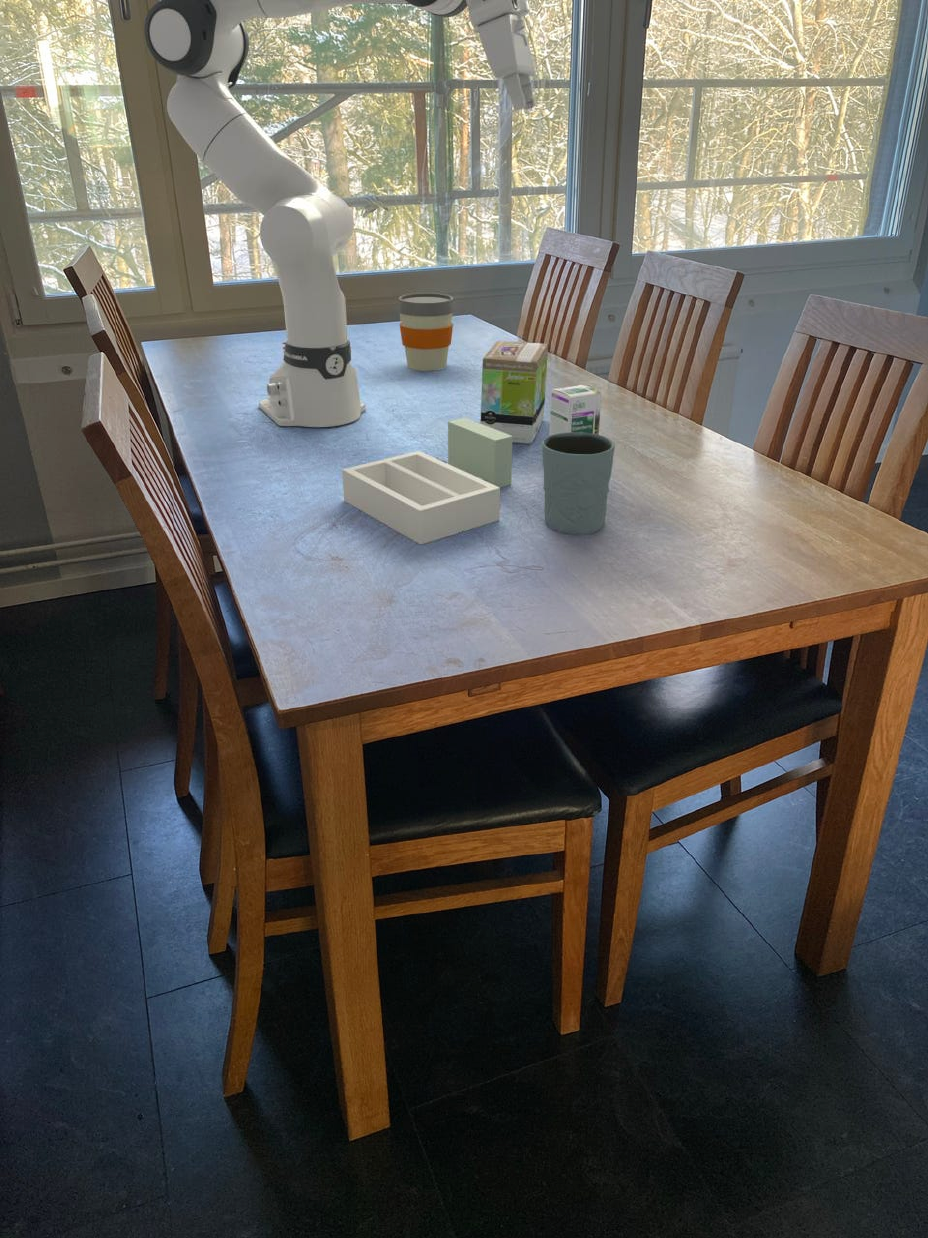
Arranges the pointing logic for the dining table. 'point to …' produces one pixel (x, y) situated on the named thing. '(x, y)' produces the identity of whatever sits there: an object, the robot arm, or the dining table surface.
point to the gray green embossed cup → (576, 481)
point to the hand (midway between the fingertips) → (525, 108)
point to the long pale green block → (480, 451)
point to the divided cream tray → (421, 496)
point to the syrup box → (575, 410)
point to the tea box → (514, 389)
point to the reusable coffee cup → (426, 329)
